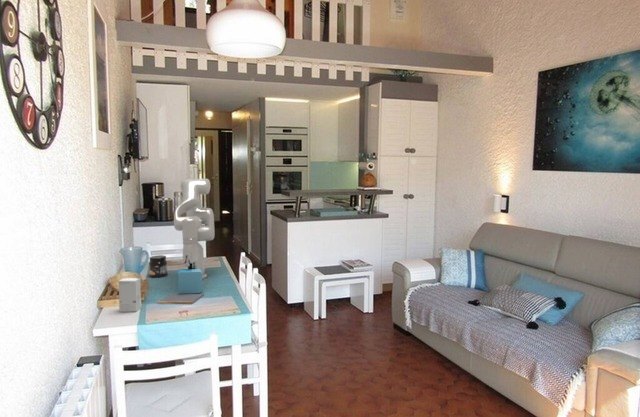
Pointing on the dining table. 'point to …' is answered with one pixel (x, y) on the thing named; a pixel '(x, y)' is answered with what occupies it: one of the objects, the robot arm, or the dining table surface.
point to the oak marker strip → (174, 302)
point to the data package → (189, 281)
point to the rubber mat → (183, 297)
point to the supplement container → (158, 266)
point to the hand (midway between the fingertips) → (192, 275)
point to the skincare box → (129, 295)
